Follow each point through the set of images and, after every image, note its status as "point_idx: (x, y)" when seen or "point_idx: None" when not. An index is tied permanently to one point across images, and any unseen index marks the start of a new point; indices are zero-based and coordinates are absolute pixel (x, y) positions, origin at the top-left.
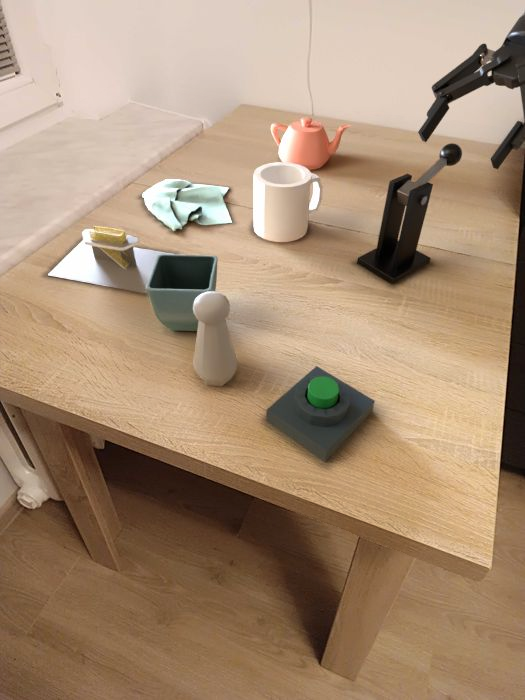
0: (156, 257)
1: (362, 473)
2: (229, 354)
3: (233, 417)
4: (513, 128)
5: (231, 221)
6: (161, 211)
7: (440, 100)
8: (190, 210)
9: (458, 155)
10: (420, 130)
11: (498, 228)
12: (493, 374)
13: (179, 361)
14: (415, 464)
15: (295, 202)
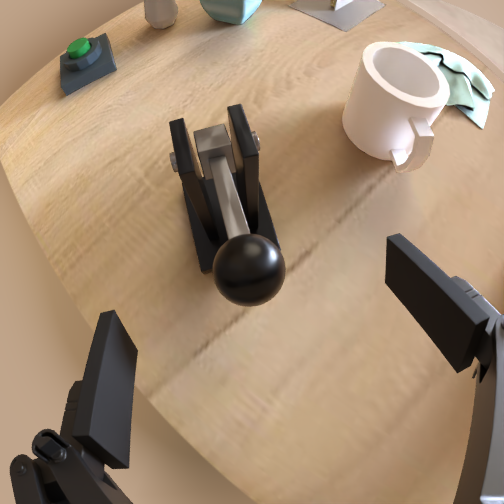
0: (343, 21)
1: (46, 80)
2: (145, 6)
3: (125, 28)
4: (89, 404)
5: None
6: (425, 48)
7: (478, 309)
8: None
9: (213, 269)
10: (399, 237)
11: (248, 466)
12: (26, 205)
13: (192, 9)
14: (27, 108)
15: (357, 84)
